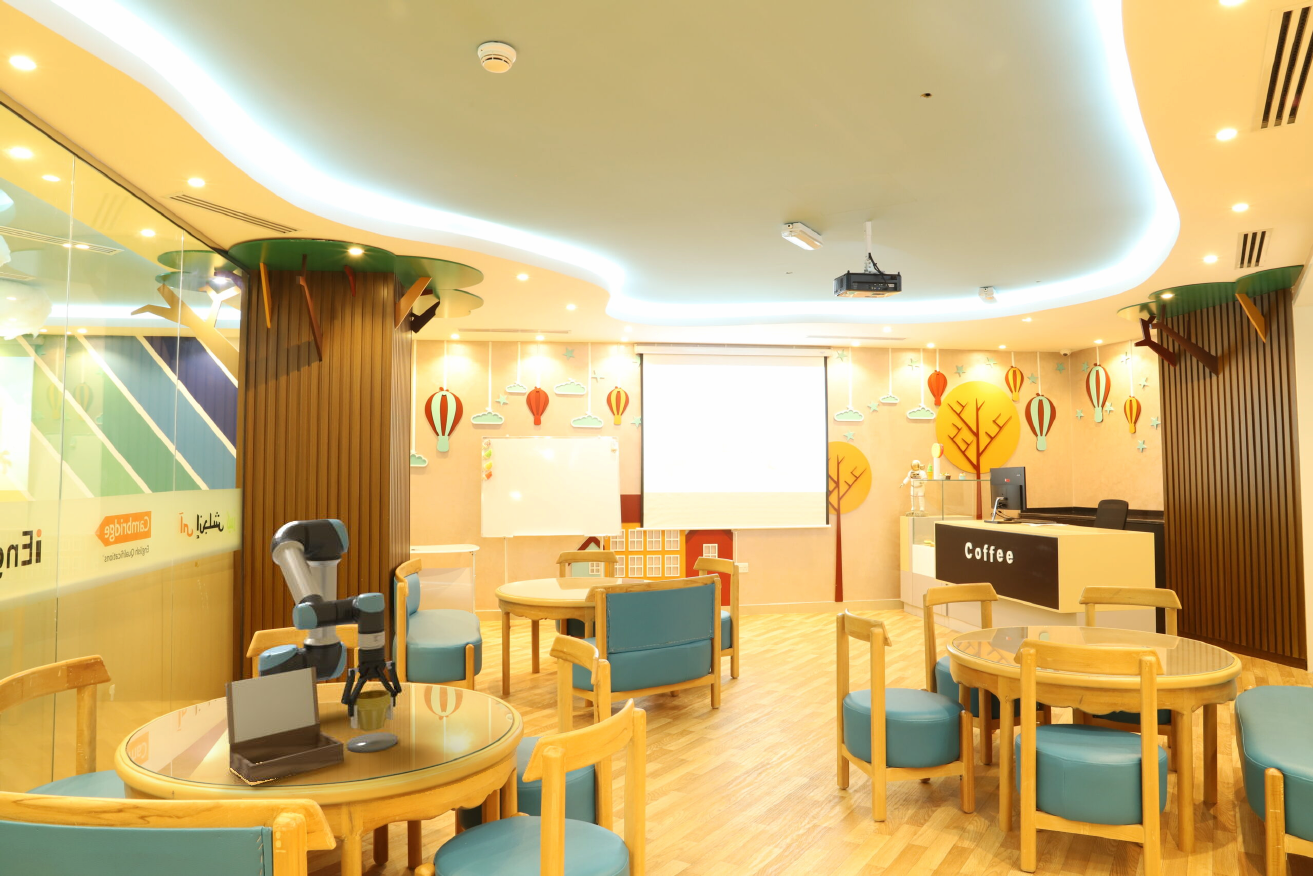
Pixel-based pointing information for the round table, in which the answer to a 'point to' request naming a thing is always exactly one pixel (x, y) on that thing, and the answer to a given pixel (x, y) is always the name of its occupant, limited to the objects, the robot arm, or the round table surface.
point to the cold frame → (285, 753)
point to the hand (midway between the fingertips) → (372, 723)
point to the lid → (271, 704)
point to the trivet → (372, 742)
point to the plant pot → (372, 709)
